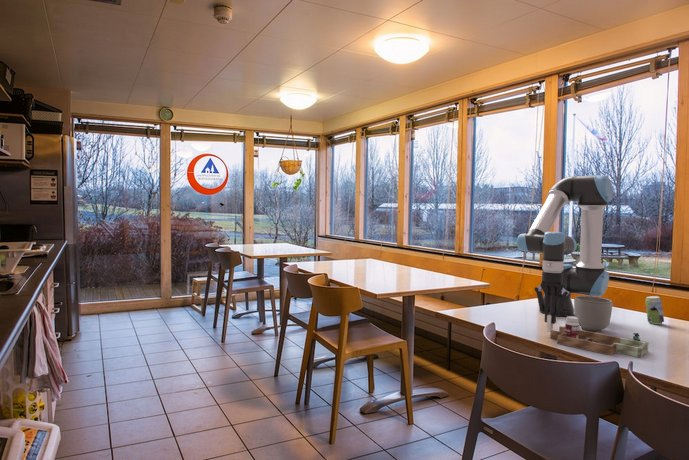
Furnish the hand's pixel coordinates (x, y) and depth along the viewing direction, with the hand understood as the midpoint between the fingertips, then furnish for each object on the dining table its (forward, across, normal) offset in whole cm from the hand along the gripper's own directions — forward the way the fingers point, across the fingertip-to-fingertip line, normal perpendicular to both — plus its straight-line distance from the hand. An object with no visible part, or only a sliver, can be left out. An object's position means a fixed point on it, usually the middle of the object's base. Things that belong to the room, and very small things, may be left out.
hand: (549, 331), depth 185 cm
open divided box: (+1, +17, -2) cm, 17 cm away
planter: (+2, +9, +20) cm, 22 cm away
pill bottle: (+2, +8, 0) cm, 8 cm away
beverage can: (+2, +24, +56) cm, 61 cm away
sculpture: (+2, +27, +14) cm, 31 cm away
